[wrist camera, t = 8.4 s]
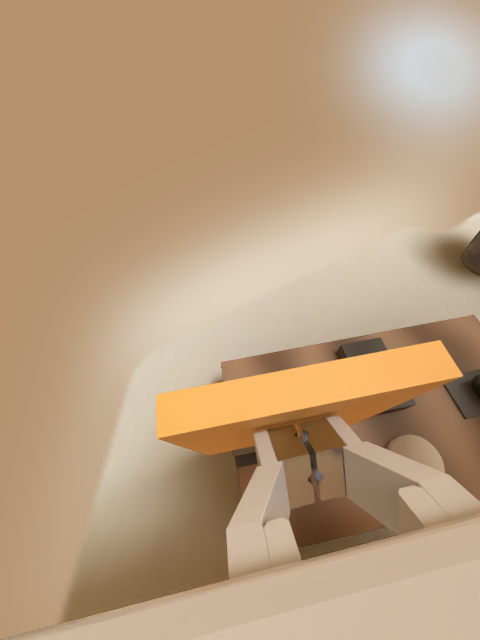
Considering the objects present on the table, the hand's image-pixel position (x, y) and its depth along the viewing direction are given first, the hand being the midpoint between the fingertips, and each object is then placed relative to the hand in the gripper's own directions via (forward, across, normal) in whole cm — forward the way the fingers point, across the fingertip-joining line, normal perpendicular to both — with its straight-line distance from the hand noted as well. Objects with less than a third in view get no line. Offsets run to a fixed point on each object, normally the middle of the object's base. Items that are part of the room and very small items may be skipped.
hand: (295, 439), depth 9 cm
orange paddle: (+6, 0, +4) cm, 8 cm away
